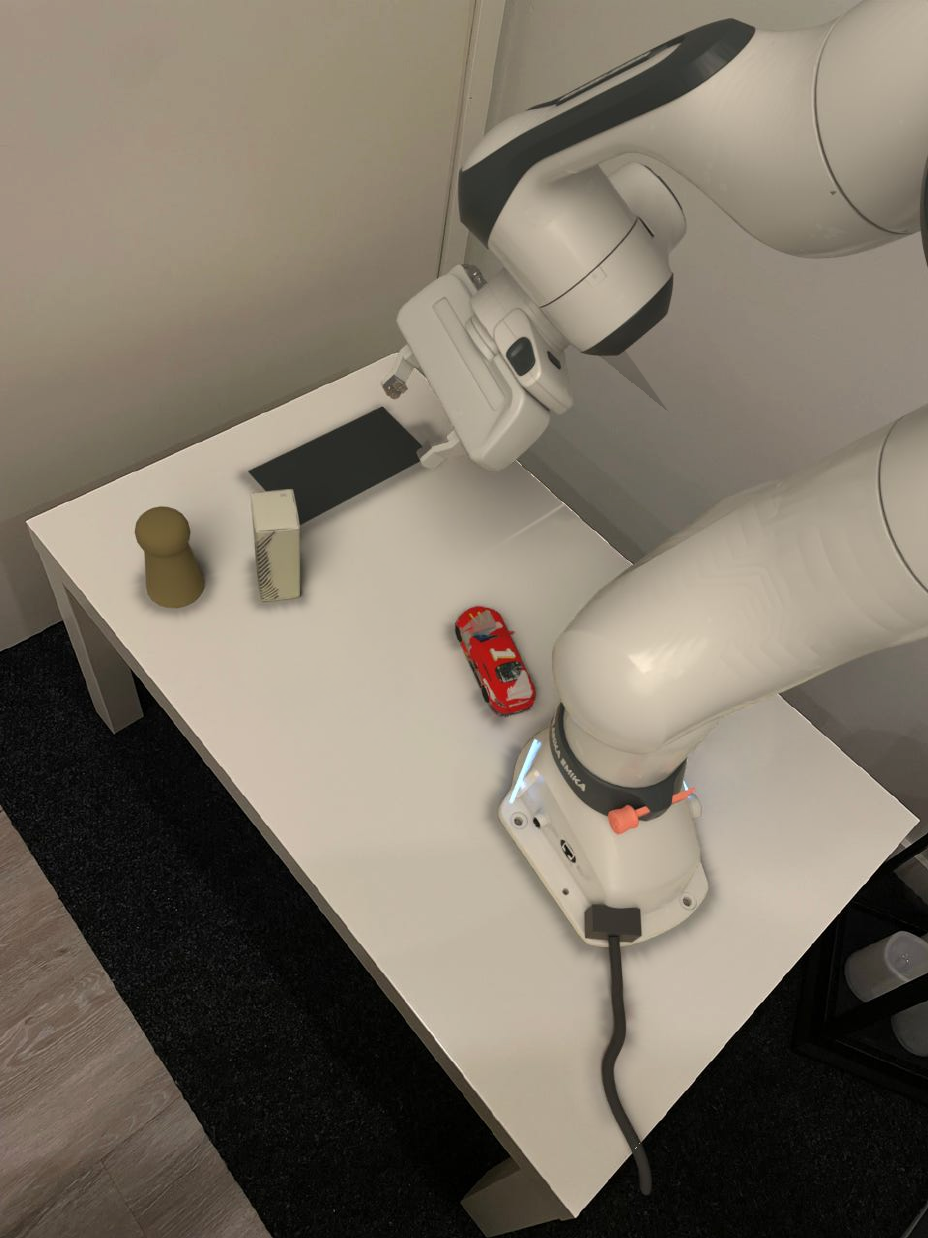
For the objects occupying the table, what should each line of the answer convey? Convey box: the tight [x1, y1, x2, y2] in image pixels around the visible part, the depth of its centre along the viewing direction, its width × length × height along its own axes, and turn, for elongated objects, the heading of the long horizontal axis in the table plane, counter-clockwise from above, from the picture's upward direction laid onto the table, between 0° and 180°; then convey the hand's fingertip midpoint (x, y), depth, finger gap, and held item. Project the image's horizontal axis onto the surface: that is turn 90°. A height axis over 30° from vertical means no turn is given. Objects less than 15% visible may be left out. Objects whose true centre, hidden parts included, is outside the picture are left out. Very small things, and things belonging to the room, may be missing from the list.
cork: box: [134, 505, 206, 609], centre depth 89 cm, size 6×6×11 cm
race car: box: [454, 605, 536, 718], centre depth 92 cm, size 13×5×4 cm, turn 20°
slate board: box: [247, 406, 423, 526], centre depth 105 cm, size 20×10×1 cm, turn 131°
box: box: [250, 489, 301, 602], centre depth 90 cm, size 5×4×13 cm
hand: (404, 426), depth 82 cm, fingers open, 8 cm apart
